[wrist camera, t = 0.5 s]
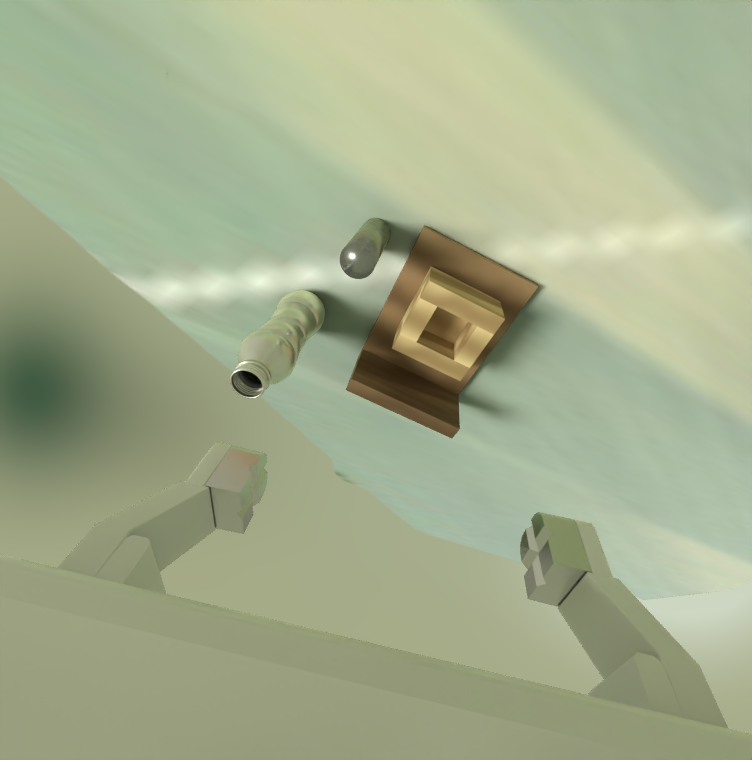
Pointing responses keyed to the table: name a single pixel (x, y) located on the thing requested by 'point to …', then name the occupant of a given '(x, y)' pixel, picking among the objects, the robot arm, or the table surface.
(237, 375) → the plastic bottle
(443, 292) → the tan square frame
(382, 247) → the dowel
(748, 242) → the table surface
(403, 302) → the jig
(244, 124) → the table surface
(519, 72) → the table surface
